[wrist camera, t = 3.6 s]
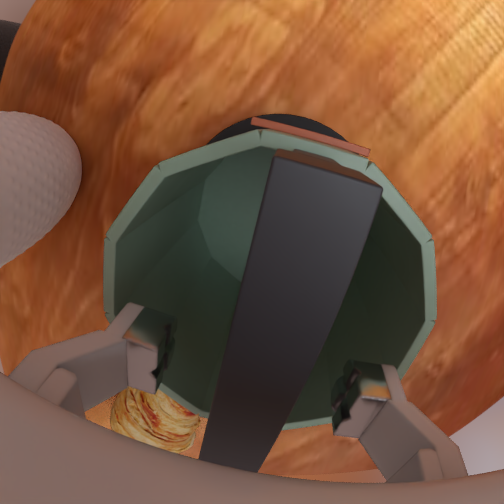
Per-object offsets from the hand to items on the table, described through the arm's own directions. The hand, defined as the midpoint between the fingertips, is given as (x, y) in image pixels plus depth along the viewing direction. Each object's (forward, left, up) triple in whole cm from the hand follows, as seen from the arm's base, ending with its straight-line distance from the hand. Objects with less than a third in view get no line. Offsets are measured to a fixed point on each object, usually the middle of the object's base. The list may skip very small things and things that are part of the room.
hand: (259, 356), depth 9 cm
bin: (0, 0, -15) cm, 15 cm away
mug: (-21, -1, -16) cm, 26 cm away
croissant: (-7, -25, -16) cm, 31 cm away
